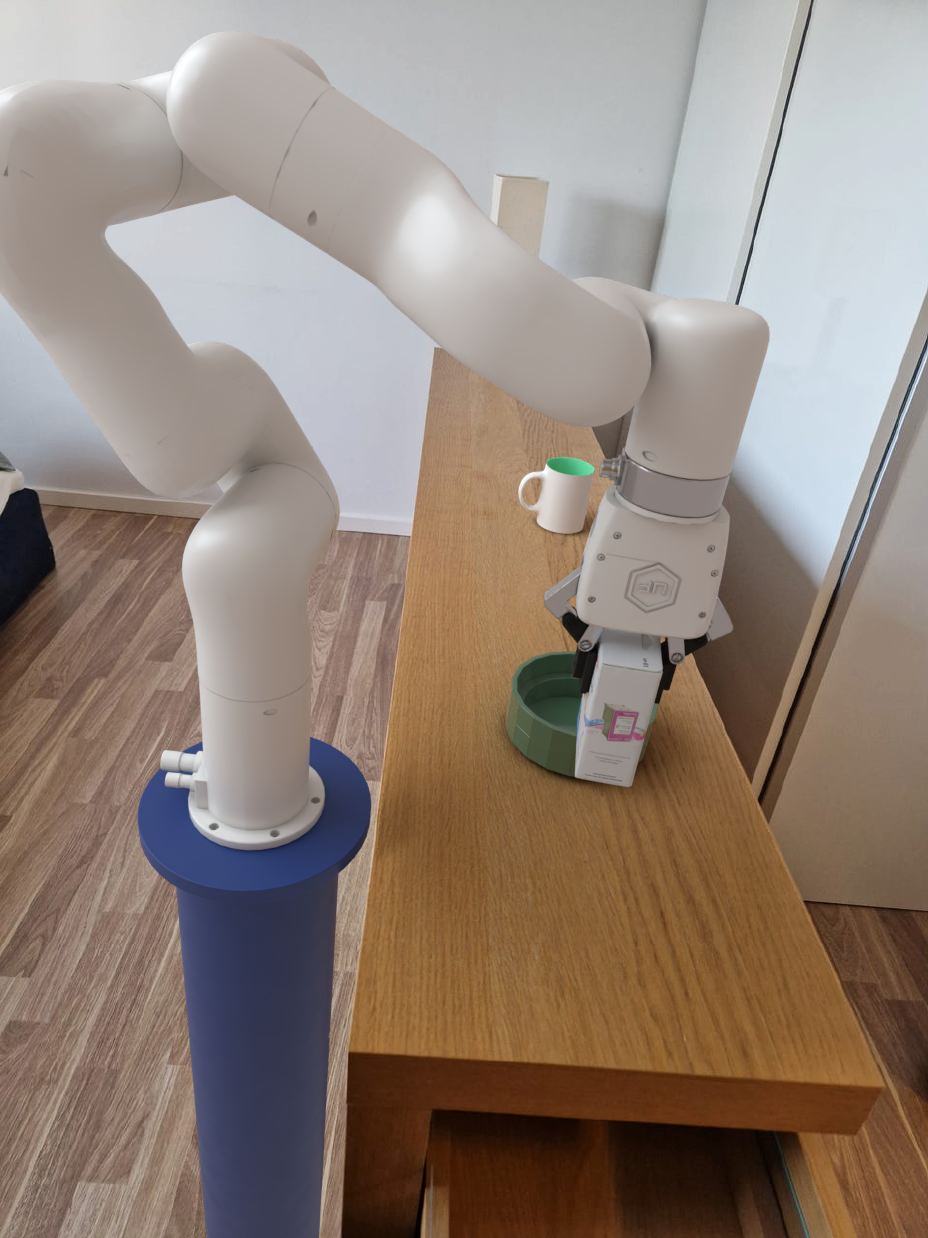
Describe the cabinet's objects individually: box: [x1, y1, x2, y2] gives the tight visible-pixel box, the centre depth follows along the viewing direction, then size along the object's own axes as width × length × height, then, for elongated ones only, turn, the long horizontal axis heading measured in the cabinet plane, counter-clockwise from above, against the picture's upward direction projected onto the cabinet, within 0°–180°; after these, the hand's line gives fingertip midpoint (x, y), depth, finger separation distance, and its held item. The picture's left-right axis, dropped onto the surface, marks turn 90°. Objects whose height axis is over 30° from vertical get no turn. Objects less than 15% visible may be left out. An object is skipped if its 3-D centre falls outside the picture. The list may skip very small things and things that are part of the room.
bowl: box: [505, 650, 659, 778], centre depth 98 cm, size 16×16×6 cm
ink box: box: [574, 629, 663, 788], centre depth 72 cm, size 9×5×12 cm, turn 172°
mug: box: [517, 456, 596, 535], centre depth 146 cm, size 12×8×10 cm
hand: (618, 687), depth 71 cm, fingers closed on ink box, 5 cm apart
